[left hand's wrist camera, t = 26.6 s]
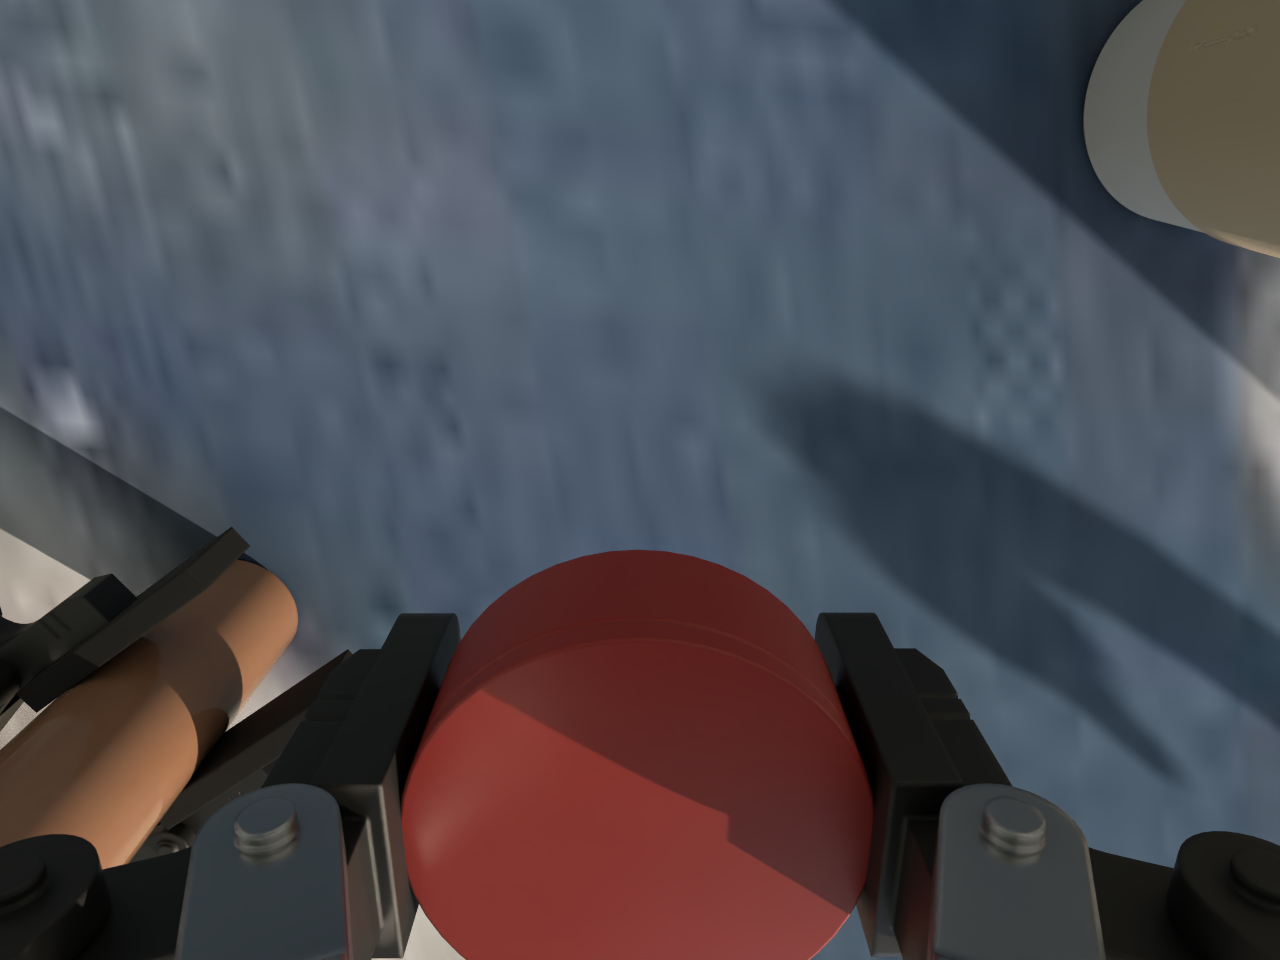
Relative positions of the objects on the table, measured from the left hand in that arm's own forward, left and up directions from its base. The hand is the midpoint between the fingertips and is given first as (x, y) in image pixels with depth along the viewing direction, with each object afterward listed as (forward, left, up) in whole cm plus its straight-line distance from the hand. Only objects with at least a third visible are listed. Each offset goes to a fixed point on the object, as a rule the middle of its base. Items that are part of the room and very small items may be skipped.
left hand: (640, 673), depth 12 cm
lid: (0, 0, +3) cm, 3 cm away
